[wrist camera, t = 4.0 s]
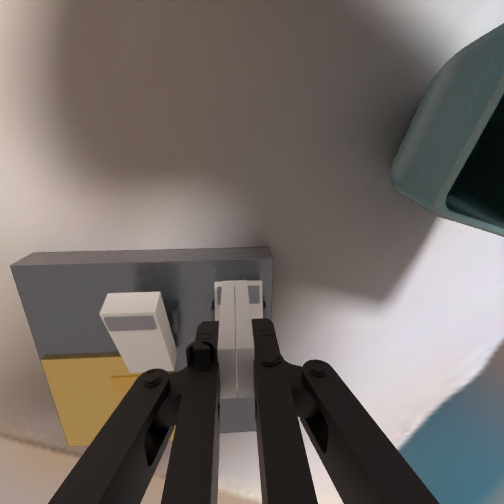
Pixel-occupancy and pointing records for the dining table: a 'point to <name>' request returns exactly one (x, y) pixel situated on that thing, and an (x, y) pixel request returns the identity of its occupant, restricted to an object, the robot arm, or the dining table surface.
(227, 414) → the panel
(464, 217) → the flower pot
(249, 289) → the rocker
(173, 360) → the rocker
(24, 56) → the dining table surface
